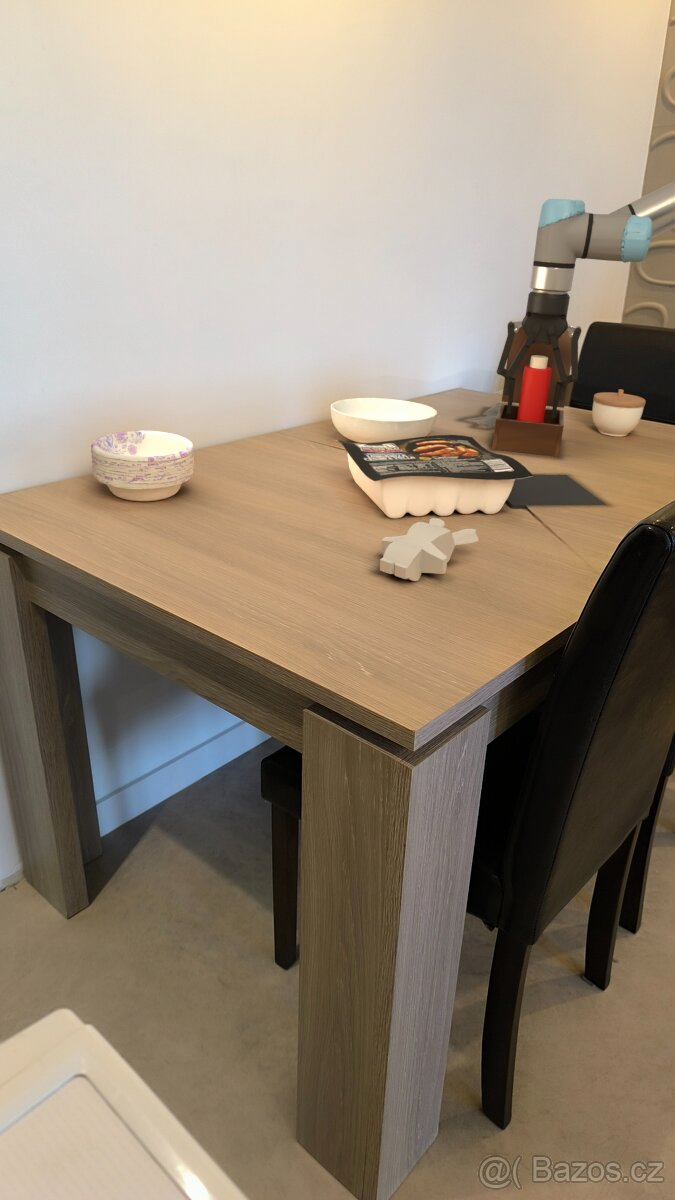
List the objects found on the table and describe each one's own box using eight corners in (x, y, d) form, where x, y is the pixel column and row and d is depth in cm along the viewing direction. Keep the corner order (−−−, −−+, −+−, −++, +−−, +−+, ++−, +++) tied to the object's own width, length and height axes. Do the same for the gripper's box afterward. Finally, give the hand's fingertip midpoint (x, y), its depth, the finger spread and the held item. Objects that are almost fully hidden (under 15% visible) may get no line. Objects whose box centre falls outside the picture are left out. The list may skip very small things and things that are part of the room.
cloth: (509, 436, 173) (510, 426, 172) (449, 425, 179) (450, 415, 178) (550, 416, 193) (551, 406, 192) (495, 406, 199) (496, 397, 198)
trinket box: (632, 442, 174) (641, 397, 170) (582, 433, 179) (590, 389, 175) (642, 432, 183) (651, 389, 179) (594, 424, 187) (602, 382, 183)
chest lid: (577, 328, 163) (577, 328, 164) (512, 322, 165) (512, 323, 166) (564, 407, 167) (564, 407, 168) (501, 401, 169) (501, 401, 170)
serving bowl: (449, 440, 168) (453, 406, 165) (408, 463, 151) (412, 426, 148) (357, 424, 176) (359, 391, 173) (309, 444, 159) (310, 409, 156)
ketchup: (533, 440, 168) (547, 354, 160) (543, 447, 163) (558, 359, 156) (509, 440, 167) (522, 354, 160) (518, 447, 162) (531, 358, 155)
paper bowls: (174, 513, 121) (172, 460, 117) (77, 502, 123) (72, 450, 119) (208, 483, 134) (207, 435, 131) (119, 473, 136) (116, 426, 133)
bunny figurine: (361, 542, 103) (427, 501, 113) (362, 577, 106) (426, 535, 116) (425, 563, 98) (488, 519, 108) (424, 600, 101) (485, 553, 111)
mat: (566, 478, 148) (566, 475, 147) (605, 508, 133) (606, 504, 133) (480, 478, 145) (480, 474, 145) (511, 508, 131) (512, 504, 130)
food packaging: (472, 433, 143) (534, 471, 123) (467, 475, 146) (526, 518, 127) (333, 435, 136) (375, 476, 117) (331, 479, 140) (371, 526, 120)
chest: (557, 461, 158) (563, 425, 155) (491, 453, 160) (496, 418, 157) (558, 442, 170) (563, 409, 168) (496, 436, 173) (501, 403, 170)
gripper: (606, 294, 154) (584, 416, 164) (494, 286, 158) (479, 405, 168) (608, 297, 147) (585, 424, 157) (491, 289, 151) (476, 413, 161)
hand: (530, 414), depth 162 cm, fingers open, 8 cm apart
